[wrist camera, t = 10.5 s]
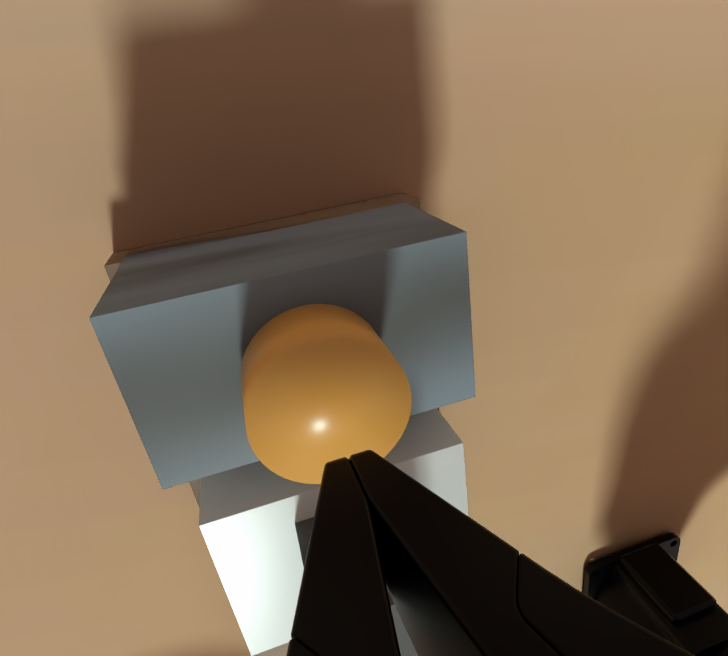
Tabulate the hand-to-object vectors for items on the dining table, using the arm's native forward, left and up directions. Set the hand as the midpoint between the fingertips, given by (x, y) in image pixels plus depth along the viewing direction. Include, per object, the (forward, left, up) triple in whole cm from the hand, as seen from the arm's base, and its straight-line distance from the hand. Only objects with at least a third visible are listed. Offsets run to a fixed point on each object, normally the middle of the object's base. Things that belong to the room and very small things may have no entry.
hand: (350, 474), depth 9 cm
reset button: (0, 0, -4) cm, 4 cm away
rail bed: (-8, 0, -11) cm, 13 cm away
